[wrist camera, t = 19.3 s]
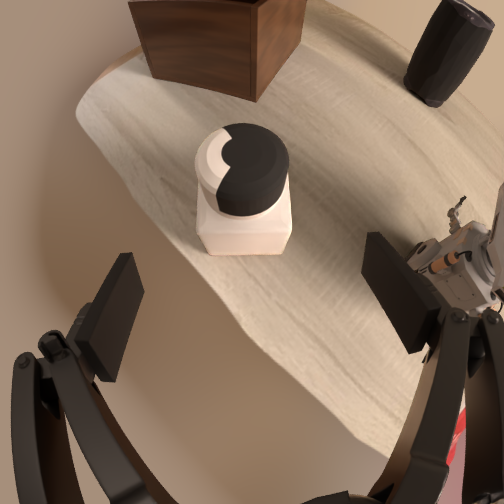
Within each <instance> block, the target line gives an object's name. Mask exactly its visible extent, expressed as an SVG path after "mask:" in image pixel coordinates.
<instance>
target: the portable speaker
mask: <svg viewBox="0 0 504 504" xmlns="http://www.w3.org/2000/svg"><path fill="white" fill-rule="evenodd" d="M494 26H495V24H494V22H493V21H492V20H491V19H490V18H489V17H488V16H487V15H485V14H484V13H483V12H481V11H478V10H477V9H475V8H474V7H472V6H471V5H469V4H467V3H466V2H465V1H463V0H442V1H441V3H440V4H439V6H438V7H437V9H436V11H435V12H434V14H433V15H432V17H431V19H430V21H429V23H428V25H427V27H426V29H425V31H424V33H423V35H422V37H421V39H420V41H419V43H418V45H417V47H416V49H415V51H414V53H413V56H412V58H411V61H410V63H409V66H408V68H407V72H406V74H405V76H404V85H405V86H406V88H407V89H412V90H413V91H414V92H415V93H417V94H418V95H419V96H420V97H422V98H423V99H424V100H425V103H426V104H427V105H428V106H430V107H435V108H437V107H439V106H441V105H442V104H443V102H444V101H446V100H447V99H448V98H449V97H450V95H451V94H452V93H453V92H454V91H455V90H456V89H457V88H458V86H459V85H460V84H461V83H462V81H463V80H464V78H465V77H466V76H467V74H468V73H469V71H470V69H471V68H472V67H473V65H474V64H475V62H476V61H477V59H478V58H479V56H480V55H481V53H482V52H483V50H484V48H485V46H486V44H487V42H488V40H489V37H490V35H491V33H492V29H493V28H494Z"/></svg>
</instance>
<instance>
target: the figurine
mask: <svg viewBox="0 0 504 504" xmlns="http://www.w3.org/2000/svg"><path fill="white" fill-rule="evenodd" d="M466 198H467V197H466V196H464V197H462V198H460V202H459V203H458V204H457V205H456V206H455V208H451V209H450V210H449V211H448V213H447V215H448V217H450V221H451V223H449V225H450V227H451V228H450V230H449V232H450V233H451V234H452V235H450V236H449V237H447V238H446V239H444V240H442V241H441V242H438V241H437V240H436V239H435V238H434V239H430V240H428V241H426V242H420V243H418V244H417V245H416V246H415V248H414V249H413V250H412V251H411V253H410V254H409V255H408V256H407V258H406V259H405V261H406V262H407V263H408V265H409V266H410V267H411V268H412V269H413V270H414V271H415V270H417V269H418V273H421V274H423V275H424V276H426V277H427V278H429V280H430V281H431V282H432V283H433V285H434V286H435V287H436V288H437V289H438V291H439V292H440V293H441V294H442V295H443V297H444V298H445V299H446V300H447V302H448V303H449V304H450V305H451V307H452V308H453V307H456V308H460V309H462V310H464V311H465V312H466V313H468V315H469V317H480V316H481V314H482V312H483V310H485V309H493V308H494V305H496V304H498V303H499V301H501V308H500V310H499V311H498V313H499V312H500V311H501V309H502V306H503V304H504V183H503V184H502V186H501V187H500V189H499V193H498V199H497V205H496V210H495V215H494V220H493V225H492V229H491V231H490V230H489V231H488V229H487V228H486V227H485V225H484V224H481V223H478V222H475V221H471V222H469V223H468V224H467V225H465V226H464V227H460V225H459V224H461V221H460V220H459V218H458V214H459V213H458V210H459V208H460V207H461V205H462V202H463V201H464V200H465V199H466ZM493 310H495V309H493ZM495 311H496V310H495Z"/></svg>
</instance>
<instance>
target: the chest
mask: <svg viewBox="0 0 504 504" xmlns="http://www.w3.org/2000/svg"><path fill="white" fill-rule="evenodd" d="M306 1H307V0H130V1H129V2H128V5H129V8H130V11H131V14H132V18H133V21H134V24H135V27H136V30H137V33H138V36H139V39H140V42H141V45H142V48H143V51H144V54H145V57H146V60H147V63H148V66H149V68H150V71H151V74H152V77H153V78H156V79H162V80H168V81H173V82H178V83H183V84H187V85H192V86H196V87H201V88H205V89H209V90H213V91H217V92H221V93H225V94H228V95H232V96H235V97H239V98H242V99H246V100H249V101H252V102H257V100H258V99H259V98H260V96H261V95H262V93H263V92H264V90H265V89H266V88H267V86H268V85H269V83H270V82H271V81H272V79H273V78H274V76H275V75H276V74H277V72H278V71H279V70H280V68H281V67H282V65H283V64H284V63H285V61H286V60H287V59H288V57H289V56H290V55H291V53H292V52H293V51H294V50H295V48H296V47H297V46H298V44H299V43H300V41H301V34H302V28H303V21H304V15H305V8H306Z"/></svg>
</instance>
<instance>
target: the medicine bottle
mask: <svg viewBox="0 0 504 504" xmlns="http://www.w3.org/2000/svg"><path fill="white" fill-rule="evenodd" d="M288 168H289V155H288V152H287V149H286V147H285V145H284V143H283V142H282V141H281V139H280V138H279V137H278V136H277V135H275V134H274V133H273V132H271V131H270V130H268V129H266V128H263V127H261V126H258V125H254V124H247V123H238V124H232V125H228V126H225V127H222V128H220V129H218V130H216V131H215V132H213V133H212V134H210V135H209V136H208V137H207V138H206V139H205V140H204V141H203V142H202V144H201V145H200V147H199V149H198V151H197V154H196V157H195V169H196V174H197V177H198V180H199V181H198V198H197V217H196V233H197V234H198V236H199V238H200V240H201V241H202V243H203V245H204V247H205V249H206V250H207V252H208V254H209V255H211V256H224V255H274V254H282V253H283V250H284V248H285V246H286V243H287V241H288V239H289V236H290V234H291V231H292V217H291V204H290V191H289V180H288Z"/></svg>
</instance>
